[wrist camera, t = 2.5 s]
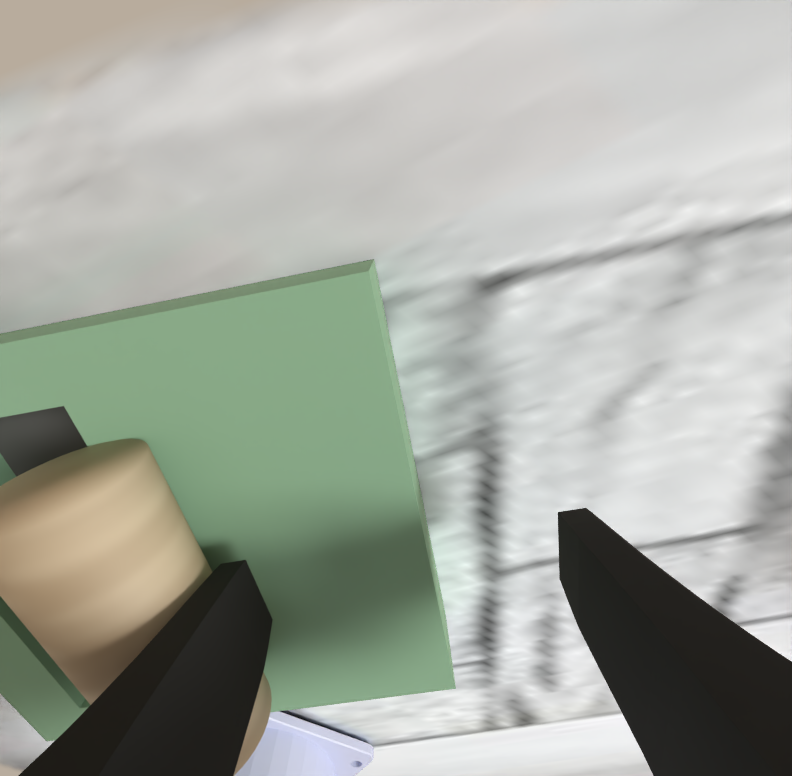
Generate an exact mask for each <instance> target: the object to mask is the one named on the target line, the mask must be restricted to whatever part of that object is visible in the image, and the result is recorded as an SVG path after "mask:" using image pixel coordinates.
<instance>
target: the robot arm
mask: <svg viewBox="0 0 792 776" xmlns="http://www.w3.org/2000/svg"><path fill="white" fill-rule="evenodd" d="M558 533H559V570H560V581H561V583H562V586H563V589H564V591H565V594H566V597H567V599H568V602H569V604H570V607H571V609H572V612H573V614H574V617H575V619H576V622H577V624H578V627H579V629H580V631H581V633H582V635H583V637H584V639H585V641H586V643H587V645H588V647H589V649H590V651H591V653H592V655H593V657H594V659H595V661H596V663H597V665H598V667H599V669H600V670H601V672H602V674H603V676H604V678H605V680H606V682H607V684H608V686H609V688H610V690H611V692H612V694H613V696H614V698H615V700H616V702H617V704H618V706H619V708H620V709H621V711H622V713H623V715H624V717H625V719H626V721H627V723H628V725H629V727H630V729H631V731H632V733H633V735H634V737H635V739H636V741H637V743H638V745H639V747H640V748H641V750H642V752H643V754H644V757H645V759H646V761H647V763H648V765H649V767H650V769H651V771H652V773H653V775H654V776H792V662H791V661H790V660H788V659H787V658H785V657H784V656H782V655H781V654H779V653H778V652H776V651H775V650H773V649H772V648H770V647H769V646H767V645H766V644H764V643H763V642H761V641H760V640H758V639H757V638H755V637H754V636H753V635H751V634H750V633H748V632H747V631H745V630H744V629H743V628H741V627H740V626H738V625H737V624H735V623H734V622H733V621H731V620H730V619H728V618H727V617H725V616H724V615H723V614H721V613H720V612H718V611H717V610H716V609H714V608H713V607H712V606H710V605H709V604H707V603H706V602H705V601H703V600H702V599H701V598H699V597H698V596H696V595H695V594H694V593H692V592H691V591H690V590H689V589H687V588H686V587H685V586H683V585H682V584H681V583H679V582H678V581H677V580H675V579H674V578H673V577H671V576H670V575H669V574H668V573H666V572H665V571H664V570H662V569H661V568H660V567H658V566H657V565H656V564H655V563H653V562H652V561H651V560H650V559H648V558H647V557H646V556H644V555H643V554H642V553H641V552H639V551H638V550H637V549H636V548H635V547H633V546H632V545H631V544H630V543H628V542H627V541H626V540H625V539H623V538H622V537H621V536H620V535H619V534H617V533H616V532H615V531H614V530H612V529H611V528H610V527H609V526H608V525H606V524H605V523H604V522H603V521H602V520H600V519H599V518H598V517H597V516H596V515H594V514H593V513H592V512H591V511H589V510H588V509H587V508H583V509H576V510H570V511H563V512H558ZM272 621H273V619H272V617H271V615H270V612H269V610H268V608H267V606H266V603H265V601H264V599H263V597H262V595H261V592H260V590H259V588H258V586H257V584H256V581H255V579H254V577H253V575H252V572H251V570H250V568H249V566H248V564H247V561H246V560H241V561H235V562H228V563H221V564H220V565H219V566H218V567H217V568H216V569H215V570H214V571H213V572H212V573H211V574H210V576H209V577H208V578H207V579H206V580H205V581H204V582H203V583H202V584H201V585H200V587H199V588H198V589H197V590H196V591H195V592H194V593H193V594H192V596H191V597H190V598H189V599H188V600H187V601H186V602H185V603H184V605H183V606H182V607H181V608H180V609H179V610H178V611H177V612H176V614H175V615H174V616H173V617H172V618H171V619H170V620H169V621H168V623H167V624H166V625H165V626H164V627H163V628H162V629H161V630H160V631H159V633H158V634H157V635H156V636H155V637H154V638H153V639H152V640H151V641H150V643H149V644H148V645H147V646H146V647H145V648H144V649H143V650H142V651H141V652H140V654H139V655H138V656H137V657H136V658H135V659H134V660H133V661H132V662H131V663H130V664H129V665H128V666H127V667H126V669H125V670H124V671H123V672H122V673H121V674H120V675H119V676H118V677H117V678H116V679H115V680H114V681H113V682H112V683H111V684H110V685H109V686H108V687H107V688H106V689H105V691H104V692H103V693H102V694H101V695H100V696H99V697H98V698H97V699H96V700H95V701H94V702H93V703H92V704H91V705H90V706H89V707H88V708H87V709H86V710H85V711H84V712H83V714H82V715H81V716H80V717H79V718H78V719H77V720H76V721H75V722H74V723H73V724H72V725H71V726H70V727H69V728H68V729H67V730H66V731H65V732H64V733H63V734H62V735H61V736H60V737H58V738H57V739H56V740H55V741H54V742H53V743H52V744H51V745H50V746H49V747H48V748H47V749H46V750H45V751H44V752H43V753H42V754H41V755H40V756H39V757H38V758H37V759H36V760H35V761H34V762H32V763H31V764H30V765H29V766H28V767H27V768H26V769H25V770H24V771H23V772H22V773H21V774H20V775H19V776H355V775H356V774H357V773H358V772H360V771H361V770H362V769H363V768H364V767H366V766H367V765H368V764H369V763H370V762H371V761H372V760H373V753H374V748H373V747H372V745H370V744H368V743H366V742H363V741H360V740H358V739H355V738H352V737H349V736H346V735H344V734H341V733H338V732H335V731H333V730H330V729H327V728H324V727H322V726H319V725H316V724H313V723H310V722H308V721H305V720H302V719H299V718H297V717H294V716H291V715H288V714H286V713H283V712H280V711H278V712H270V716H269V720H268V723H267V726H266V729H265V732H264V734H263V736H262V738H261V740H260V742H259V744H258V746H257V747H256V749H255V751H254V752H253V754H252V755H251V757H250V758H249V759H248V761H247V762H246V763H245V764H244V766H243V767H242V768H241V769H240V770H239V771H238V772H237V773H236V774H235V775H234V772H235V769H236V765H237V762H238V758H239V755H240V752H241V748H242V745H243V741H244V738H245V734H246V731H247V728H248V724H249V721H250V717H251V714H252V710H253V707H254V703H255V700H256V696H257V693H258V689H259V686H260V682H261V679H262V675H263V671H264V667H265V662H266V656H267V651H268V646H269V640H270V633H271V627H272Z"/></svg>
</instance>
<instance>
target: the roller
mask: <svg viewBox="0 0 792 776" xmlns="http://www.w3.org/2000/svg"><path fill="white" fill-rule="evenodd" d="M211 573H212V570H211V568H210V566H209V564H208V562H207V560H206V558H205V556H204V554H203V552H202V550H201V548H200V546H199V544H198V542H197V540H196V538H195V536H194V534H193V532H192V530H191V528H190V527H189V525H188V523H187V521H186V519H185V517H184V515H183V513H182V511H181V509H180V507H179V505H178V503H177V501H176V499H175V497H174V495H173V493H172V491H171V489H170V487H169V485H168V483H167V481H166V479H165V477H164V475H163V473H162V471H161V469H160V467H159V466H158V464H157V462H156V460H155V458H154V456H153V454H152V452H151V450H150V448H149V446H148V444H147V443H146V442H145V441H143V440H139V439H120V440H114V441H109V442H103V443H99V444H95V445H92V446H88V447H85V448H82V449H79V450H76V451H73V452H70V453H68V454H65V455H62V456H60V457H57V458H55V459H53V460H50V461H48V462H46V463H43V464H41V465H39V466H37V467H35V468H33V469H31V470H29V471H26V472H25V473H23V474H21V475H19V476H17V477H15V478H13V479H11V480H10V481H8V482H6V483H4V484H3V485H1V486H0V596H1V597H2V599H3V600H4V601H5V602H6V603H7V605H8V606H9V607H10V608H11V610H12V611H13V612H14V613H15V614H16V616H17V617H18V618H19V619H20V620H21V622H22V623H23V624H24V625H25V626H26V628H27V629H28V630H29V631H30V632H31V634H32V635H33V636H34V637H35V638H36V640H37V641H38V642H39V643H40V645H41V646H42V647H43V648H44V649H45V651H46V652H47V653H48V654H49V655H50V657H51V658H52V659H53V660H54V661H55V663H56V664H57V665H58V666H59V667H60V669H61V670H62V671H63V672H64V674H65V675H66V676H67V677H68V678H69V680H70V681H71V682H72V683H73V684H74V686H75V687H76V688H77V689H78V690H79V692H80V693H81V694H82V695H83V696H84V698H85V699H86V700H87V701H88V702H89V704H90V705H91V704H92V703H93V702H94V701H95V700H96V699H97V698H98V697H99V696H100V695H101V694H102V693H103V692H104V691H105V689H106V688H107V687H108V686H109V685H110V684H111V683H112V682H113V681H114V680H115V679H116V678H117V677H118V676H119V675H120V674H121V673H122V672H123V671H124V670H125V669H126V667H127V666H128V665H129V664H130V663H131V662H132V661H133V660H134V659H135V658H136V657H137V656H138V655H139V654H140V652H141V651H142V650H143V649H144V648H145V647H146V646H147V645H148V644H149V643H150V641H151V640H152V639H153V638H154V637H155V636H156V635H157V634H158V633H159V631H160V630H161V629H162V628H163V627H164V626H165V625H166V624H167V623H168V621H169V620H170V619H171V618H172V617H173V616H174V615H175V614H176V612H177V611H178V610H179V609H180V608H181V607H182V606H183V605H184V603H185V602H186V601H187V600H188V599H189V598H190V597H191V596H192V594H193V593H194V592H195V591H196V590H197V589H198V588H199V587H200V585H201V584H202V583H203V582H204V581H205V580H206V579H207V578H208V577H209V576H210V574H211ZM271 701H272V697H271V689H270V685H269V683H268V680H267V678H266V676H265V674H264V672H263V675H262V679H261V682H260V686H259V689H258V693H257V696H256V700H255V703H254V707H253V710H252V714H251V717H250V721H249V724H248V728H247V731H246V734H245V738H244V741H243V745H242V748H241V752H240V755H239V758H238V762H237V765H236V769H235V772H234V775H235V774H236V773H237V772H238V771H239V770H240V769H241V768H242V767H243V766H244V764H245V763H246V762H247V761H248V759H249V758H250V757H251V755H252V754H253V752H254V751H255V749H256V747H257V746H258V744H259V742H260V740H261V738H262V736H263V734H264V732H265V729H266V726H267V723H268V720H269V716H270V711H271Z"/></svg>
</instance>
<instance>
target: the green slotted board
mask: <svg viewBox="0 0 792 776" xmlns="http://www.w3.org/2000/svg"><path fill="white" fill-rule="evenodd" d="M120 439H139V440H143V441H145V442H146V443H147V444H148V446H149V448H150V450H151V452H152V454H153V456H154V458H155V460H156V462H157V464H158V466H159V467H160V469H161V471H162V473H163V475H164V477H165V479H166V481H167V483H168V485H169V487H170V489H171V491H172V493H173V495H174V497H175V499H176V501H177V503H178V505H179V507H180V509H181V511H182V513H183V515H184V517H185V519H186V521H187V523H188V525H189V527H190V528H191V530H192V532H193V534H194V536H195V538H196V540H197V542H198V544H199V546H200V548H201V550H202V552H203V554H204V556H205V558H206V560H207V562H208V564H209V566H210V568H211V570H212V572H213V571H214V570H215V569H216V568H217V567H218V566H219V565H220V564H221V563H228V562H235V561H241V560H246V561H247V564H248V566H249V568H250V570H251V572H252V575H253V577H254V579H255V581H256V584H257V586H258V588H259V590H260V592H261V595H262V597H263V599H264V601H265V603H266V606H267V608H268V610H269V612H270V615H271V617H272V619H273V621H272V627H271V633H270V640H269V646H268V651H267V656H266V662H265V667H264V671H263V672H264V674H265V676H266V678H267V680H268V683H269V685H270V689H271V697H272V701H271V711H270V712H278V711H285V710H293V709H301V708H309V707H316V706H324V705H332V704H340V703H347V702H355V701H363V700H371V699H378V698H386V697H394V696H402V695H409V694H417V693H425V692H433V691H440V690H448V689H456V687H455V680H454V672H453V665H452V658H451V651H450V644H449V636H448V629H447V622H446V615H445V610H444V605H443V600H442V595H441V590H440V585H439V580H438V575H437V570H436V565H435V560H434V555H433V550H432V545H431V540H430V535H429V531H428V526H427V521H426V516H425V511H424V506H423V501H422V496H421V491H420V486H419V481H418V476H417V471H416V466H415V461H414V456H413V451H412V446H411V441H410V436H409V431H408V426H407V421H406V416H405V411H404V406H403V401H402V396H401V391H400V386H399V381H398V376H397V371H396V366H395V361H394V356H393V351H392V346H391V342H390V337H389V332H388V327H387V322H386V317H385V312H384V307H383V302H382V297H381V292H380V287H379V282H378V277H377V272H376V267H375V262H374V259H373V260H368V261H363V262H358V263H353V264H348V265H343V266H338V267H333V268H328V269H323V270H318V271H313V272H308V273H303V274H298V275H293V276H288V277H283V278H278V279H273V280H268V281H263V282H258V283H253V284H248V285H243V286H238V287H233V288H228V289H223V290H218V291H213V292H208V293H203V294H198V295H193V296H188V297H183V298H178V299H173V300H168V301H163V302H158V303H153V304H148V305H143V306H138V307H133V308H127V309H122V310H117V311H112V312H107V313H102V314H97V315H92V316H87V317H82V318H77V319H72V320H67V321H62V322H57V323H52V324H47V325H42V326H37V327H32V328H27V329H22V330H17V331H12V332H7V333H2V334H0V486H1V485H3V484H4V483H6V482H8V481H10V480H11V479H13V478H15V477H17V476H19V475H21V474H23V473H25V472H26V471H29V470H31V469H33V468H35V467H37V466H39V465H41V464H43V463H46V462H48V461H50V460H53V459H55V458H57V457H60V456H62V455H65V454H68V453H70V452H73V451H76V450H79V449H82V448H85V447H88V446H92V445H95V444H99V443H103V442H109V441H114V440H120ZM0 694H1V695H2V696H3V697H4V698H5V699H6V700H7V701H8V702H9V703H10V704H11V705H12V706H13V707H14V708H15V709H16V710H17V711H18V712H19V713H20V714H21V715H22V716H23V717H24V718H25V719H26V720H27V722H28V723H29V724H30V725H31V726H32V727H33V728H34V729H35V730H36V731H37V732H38V733H39V734H40V735H41V736H42V737H43V738H44V739H45V740H46V741H53V740H56V739H57V738H58V737H60V736H61V735H62V734H63V733H64V732H65V731H66V730H67V729H68V728H69V727H70V726H71V725H72V724H73V723H74V722H75V721H76V720H77V719H78V718H79V717H80V716H81V715H82V714H83V712H84V711H85V710H86V709H87V708H88V707H89V706H90V704H89V702H88V701H87V700H86V699H85V698H84V696H83V695H82V694H81V693H80V692H79V690H78V689H77V688H76V687H75V686H74V684H73V683H72V682H71V681H70V680H69V678H68V677H67V676H66V675H65V674H64V672H63V671H62V670H61V669H60V667H59V666H58V665H57V664H56V663H55V661H54V660H53V659H52V658H51V657H50V655H49V654H48V653H47V652H46V651H45V649H44V648H43V647H42V646H41V645H40V643H39V642H38V641H37V640H36V638H35V637H34V636H33V635H32V634H31V632H30V631H29V630H28V629H27V628H26V626H25V625H24V624H23V623H22V622H21V620H20V619H19V618H18V617H17V616H16V614H15V613H14V612H13V611H12V610H11V608H10V607H9V606H8V605H7V603H6V602H5V601H4V600H3V599H2V597H1V596H0Z"/></svg>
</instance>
